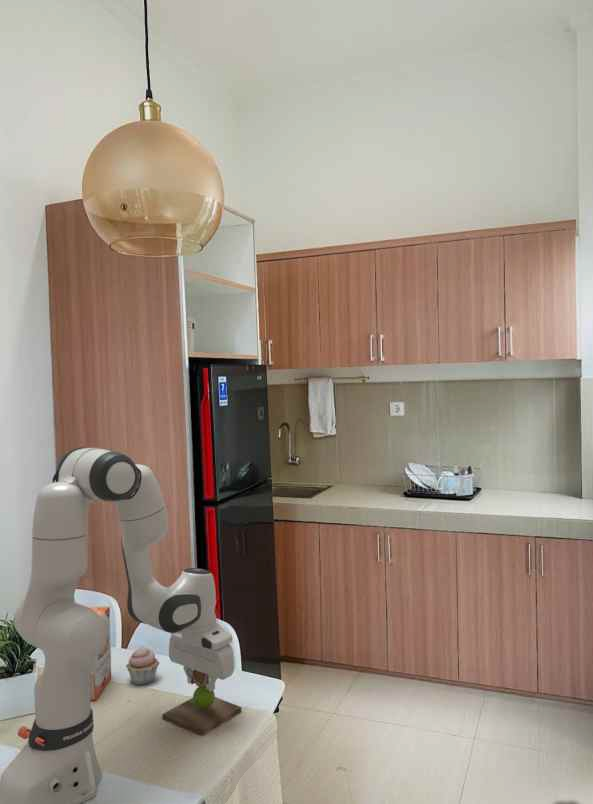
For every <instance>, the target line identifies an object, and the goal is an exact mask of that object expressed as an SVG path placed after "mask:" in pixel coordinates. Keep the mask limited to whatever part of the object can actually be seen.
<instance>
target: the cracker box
mask: <svg viewBox="0 0 593 804" xmlns="http://www.w3.org/2000/svg"><path fill="white" fill-rule="evenodd" d="M89 608H91V609H92V610H93V611H95V612H96V613H97V614H98V615H99V616H100V617H101V618H102V619H103V620H104V621H105V623H106V625H107V628H108V637H107V641H106V644H105V646H104V648H103V650H102V651H101V653H100V654H99V655H98V656H97V657H96V658H94V661H93V664H92V668H91V673H90V701H97V700H98V698H99V696H100V695H101V693H102V692H103V691H104V689H105V687H106V686H107V685H108V683H109V682H110V681H111V679H112V650H111V648H112V647H111V616H110V614H111V611H110V606H107V605H105V606H90V607H89Z"/></svg>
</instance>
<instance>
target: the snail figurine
mask: <svg viewBox="0 0 593 804" xmlns="http://www.w3.org/2000/svg"><path fill="white" fill-rule="evenodd" d="M192 673H193V677H194V679H195V680H196V681H194V684H195V686H197V688H196V689H195V690H194V691H193V694H192V698H193V701H194V703H195V705H196V706H197V707H199V708H201V709H205V708H208V707H210V706H211V705H212V704H213V702H214V699H215V697H216V696H215V695H216V694H215V691H214V690H213V691H208V690H206V683H208V682H209V680H210V679H209V678H208V674H205V673H202V672H199V671H197V670H194V669H193V672H192Z"/></svg>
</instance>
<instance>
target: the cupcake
mask: <svg viewBox="0 0 593 804" xmlns="http://www.w3.org/2000/svg"><path fill="white" fill-rule="evenodd" d="M155 655H156V654H155V653H154V651H153V650H152V649H150V648H147V647H146V646H144V645H142V644H141V645H140V647H139V648H138V649H136V650H134V651H133V652H132V654H131V656H130V657H129V659H128V662H127V663H126V664H125V667H126V670H127V671H128V673H129V676H130V680H131V682H132V683H133V685H136V686H144V685H145V686H146V685H148V684H151V683H152V682H154V681H155V678H156V673H157V669H158V667H159V665H160V661H159V659H158V658H156V656H155Z"/></svg>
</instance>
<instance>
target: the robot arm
mask: <svg viewBox="0 0 593 804" xmlns="http://www.w3.org/2000/svg"><path fill="white" fill-rule="evenodd" d="M94 500H95V501H105V502H112V503H113V505H114V506H115V507H114V508H115V511H116V516H117V519H118V523H119V527H120V532H121V553H122V557H123V563H124V569H125V574H126V578H127V579H126V580H127V585H128V587H127V588H128V590H127V601H126V602H127V603H126V605H127V611H128V614H129V616H130V617H131V619H132V620H134V621H136V622H138V623H141V624H144V625H148V626H150V627H152V628H155V629H157V630H160V631H162V632H166V633H170V638H169V644H168V657H169V660H170V662H173V663H175V664H178V665H180V666H183V670H184V671H183V672H184V674H185V675H186V677H187V680H186V681H187V683H188V684H190V685H194V684H195V683H194V681H196V680H195V679H194V677H193V673H192V672H193V669H194V670H197V671H199V672H202V673H205V674H208V678H209V682H208V683H206V690H208V691H214V690H215V689H216V681H217V680H218V679H219V680H223V681H224V680H226V679H229V677H231V676H232V675H233V674H234V672H235V657H234V649H233V647H232V645H231V643H232V642H233V635H232V634H231V633H230V632H229V631H228V630H227V629H225V628H223V627H222V626H221V625H220V624H219V623H218V622H217V621H218V619H217V616H216V610H215V609H216V605H217V597H216V595H217V594H216V593H217V592H216V585H215V579H214V575H213V574H212V572H210V571H209V570H207V569H203V568H197V567H188V568H183V570H182V571H181V574H180V576H179V577H178V578H177V579H176V581H175V582H173V583H172V584H171V585H170V586H168V587H166V586H164V585H162V584H160V583H159V581H157V580H156V578H155V577H154V573H153V567H152V562H151V561H152V560H151V556H150V549H151V547H153V546H155V545H157V544H158V543H160V542H161V541H162V540H163V539H164V538H165V536H166V535H167V532H168V530H169V529H170V527H169V526H170V524H169V523H170V522H169V514H168V511H167V510H168V509H167V506H166V504H165V503H166V502H165V500H164V496H163V493H162V491H161V488H160V485H159V483H158V481H157V478H156V476H155V475H154V472H153V471H152V469H151V468H150V467H149V466H147V465H144V464H139V463H135V462H134V461H133V460H132V459H131V457H129V456H127V454H124V453H122V452H119V451H112V450H107V449H105V448H102V447H84V446H83V447H77V448H73V449H70V450H68V451H67V452H66V453H64V454H63V455H62V456H61V458H60V460H59V461H58V463H57V466H56V470H55V473H54V475H53V477H52V482H51V483H48V484H47V485H45V486H43V487H42V488H41V489H40V490H39V492H38V493H37V497H36V501H35V505H34V506H35V507H34V511H33V517H32V520H33V521H32V535H31V537H32V538H31V539H32V541H31V543H32V544H31V572H30V578H29V583H28V587H27V590H26V594H25V597H24V599H23V600H22V601H21V602H20V603H19V604H18V606H17V607H16V610H15V612H14V615H13V626H14V628H15V631H16V632H17V633H18V635H19V636H20V637H21V638H22V640H24V642H26V644H29V645H31V646H33V647H34V648H37V649H38V650H40V651H42V653H43V655H44V667H43V672H42V674H41V675H40V676H39V677H38V678H37V679H36V682H35V683H34V687H33V693H34V694H33V696H34V715H35V716H34V717H35V718H34V721H33V723H32V725H31V726H32V727H31V729H30V728H28V727H27V726H25V725H23V726H20V728H18V730H17V733H16V734H17V736H18V737H20V738H21V739H23V740H27V739H28V740H27V743H26V744H25V745H24V746H23V748H22V749H21V750H20V751H19V752H18V754H16V756H15V757H14V759H12V761H11V762H10V763H8V765H7V766H6V768H5V769H4V770H3V771H2V773H1V775H0V804H81V803H84V802H86V801H88V800H90V799H92V798H94V797H95V796H96V794H97V785H98V784H99V782H100V781H101V779H102V778H101V777H102V770H101V768H100V764H99V762H98V758H97V754H96V749H95V743H94V736H93V732H94V726H95V725H94V715H93V713H94V712H93V709H92V708H91V700H90V673H91V668H92V664H93V661H94V658H96V657H97V656H98V655H99V654H100V653H101V651H102V650H103V648H104V646H105V644H106V641H107V637H108V628H107V625H106V623H105V621H104V620H103V619H102V618H101V617H100V616H99V615H98V614H97V613H96V612H95V611H93V610H92V609H91V608H90V607H89V606H86V605H83V604H80V603H78V602H76V600H75V592H76V589H77V586H78V581H79V579H80V578H82V577H83V576H84V575H85V574H86V572H87V570H88V554H89V553H88V549H89V548H88V540H89V539H88V536H89V535H88V533H89V531H88V525H89V524H88V514H89V510H90V508H91V506H92V503H93V502H94Z"/></svg>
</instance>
